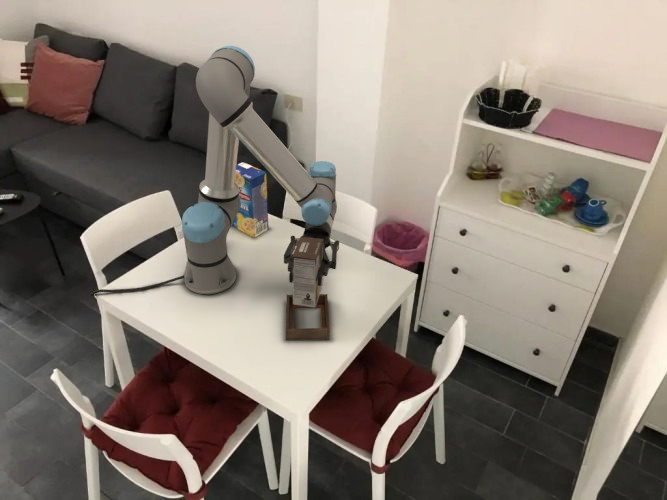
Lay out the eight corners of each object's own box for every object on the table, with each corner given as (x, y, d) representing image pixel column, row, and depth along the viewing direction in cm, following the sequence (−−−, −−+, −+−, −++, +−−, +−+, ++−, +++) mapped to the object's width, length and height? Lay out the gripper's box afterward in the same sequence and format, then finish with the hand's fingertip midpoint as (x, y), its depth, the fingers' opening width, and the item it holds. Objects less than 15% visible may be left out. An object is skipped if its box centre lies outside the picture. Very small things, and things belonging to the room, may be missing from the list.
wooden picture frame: (286, 340, 144) (285, 330, 142) (286, 303, 156) (286, 294, 154) (329, 339, 145) (329, 329, 143) (327, 303, 157) (327, 293, 155)
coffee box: (299, 283, 149) (300, 235, 140) (322, 286, 149) (324, 238, 139) (292, 305, 142) (292, 255, 132) (316, 308, 141) (317, 259, 132)
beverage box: (246, 218, 192) (242, 161, 179) (268, 229, 187) (266, 172, 174) (231, 226, 188) (226, 168, 175) (254, 237, 182) (251, 179, 169)
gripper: (351, 244, 156) (342, 295, 137) (284, 237, 157) (267, 287, 139) (353, 222, 151) (344, 272, 133) (284, 215, 153) (266, 263, 134)
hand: (305, 279), depth 136 cm, fingers closed on coffee box, 7 cm apart
